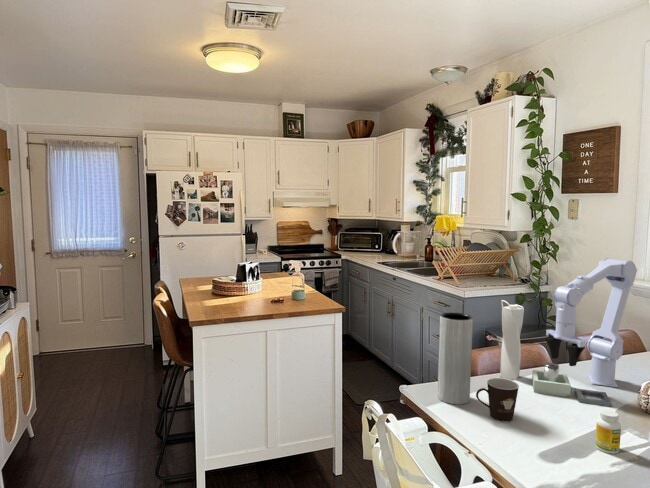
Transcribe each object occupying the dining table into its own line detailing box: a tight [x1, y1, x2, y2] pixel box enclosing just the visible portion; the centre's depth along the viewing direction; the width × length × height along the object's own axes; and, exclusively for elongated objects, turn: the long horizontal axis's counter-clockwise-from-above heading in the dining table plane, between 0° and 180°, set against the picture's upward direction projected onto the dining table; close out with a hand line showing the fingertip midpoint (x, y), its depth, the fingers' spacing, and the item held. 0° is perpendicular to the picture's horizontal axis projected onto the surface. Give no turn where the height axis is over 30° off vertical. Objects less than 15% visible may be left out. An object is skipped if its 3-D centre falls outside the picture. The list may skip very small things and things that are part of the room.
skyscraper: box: [499, 299, 525, 381], centre depth 167 cm, size 8×8×28 cm
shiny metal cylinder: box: [543, 362, 560, 382], centre depth 157 cm, size 4×4×7 cm
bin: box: [531, 369, 572, 398], centre depth 157 cm, size 11×11×4 cm
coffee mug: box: [475, 377, 520, 423], centre depth 136 cm, size 12×9×10 cm
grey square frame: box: [574, 387, 612, 408], centre depth 149 cm, size 9×9×1 cm
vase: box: [437, 312, 474, 405], centre depth 147 cm, size 10×10×27 cm
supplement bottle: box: [594, 409, 622, 455], centre depth 118 cm, size 5×5×10 cm
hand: (563, 361), depth 156 cm, fingers open, 7 cm apart
